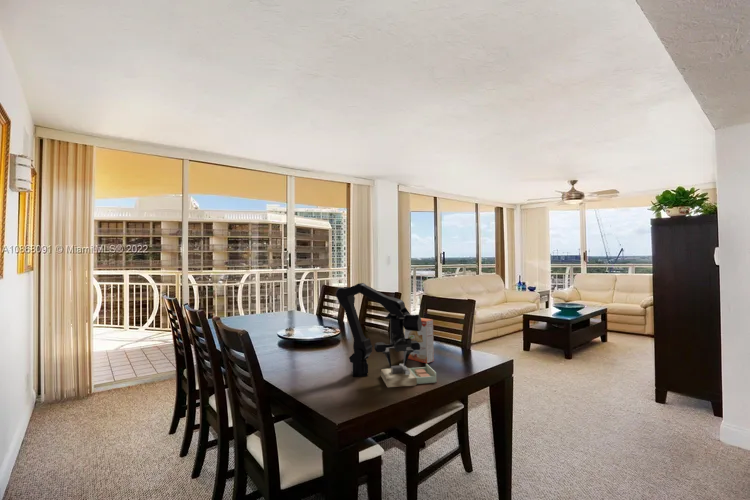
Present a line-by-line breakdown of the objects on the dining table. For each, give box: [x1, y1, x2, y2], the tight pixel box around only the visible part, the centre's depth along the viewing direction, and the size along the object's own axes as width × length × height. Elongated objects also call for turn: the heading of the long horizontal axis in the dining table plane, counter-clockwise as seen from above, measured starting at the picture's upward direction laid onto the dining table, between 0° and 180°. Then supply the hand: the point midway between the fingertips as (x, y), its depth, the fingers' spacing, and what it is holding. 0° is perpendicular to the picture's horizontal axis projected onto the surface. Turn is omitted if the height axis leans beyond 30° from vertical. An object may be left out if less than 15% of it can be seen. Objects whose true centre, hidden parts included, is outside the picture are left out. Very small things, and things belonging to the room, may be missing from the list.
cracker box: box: [404, 317, 435, 365], centre depth 187 cm, size 14×6×21 cm, turn 45°
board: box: [380, 366, 417, 388], centre depth 158 cm, size 12×14×3 cm
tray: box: [408, 363, 438, 385], centre depth 161 cm, size 8×13×4 cm, turn 10°
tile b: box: [415, 369, 426, 376], centre depth 164 cm, size 4×4×2 cm
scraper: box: [390, 363, 410, 375], centre depth 159 cm, size 2×11×6 cm
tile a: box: [419, 374, 430, 377], centre depth 157 cm, size 4×4×2 cm
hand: (397, 366), depth 159 cm, fingers open, 6 cm apart
